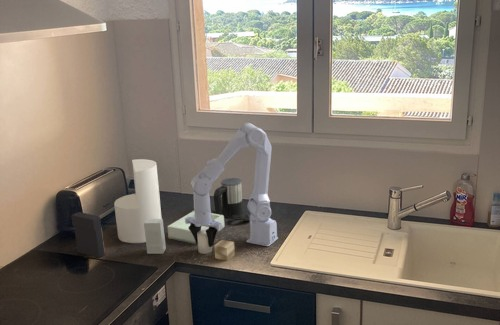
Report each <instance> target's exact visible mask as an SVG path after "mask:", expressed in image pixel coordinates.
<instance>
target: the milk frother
mask: <svg viewBox="0 0 500 325" xmlns="http://www.w3.org/2000/svg"><path fill="white" fill-rule="evenodd" d="M242 183H243V180H242V179H240V178H238V177H228V178H223V179H221V180H220V185H221V186H219V187H216V189H215V190H214V193H213V203H214V204H213V205H214V212H215V214H219V215H224V218H228V219H232V218H233V219H239V220H242V221H244V222H249V221H250V215H249V214H245V215H244V210H243V194H242V193H243V190H242V188H243V187H242Z"/></svg>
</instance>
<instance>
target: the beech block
mask: <svg viewBox="0 0 500 325" xmlns="http://www.w3.org/2000/svg"><path fill="white" fill-rule="evenodd" d="M213 246H214V258H215V259H217V260H222V261H225V262H228V261H229V260H230V259H231V258H233V257H234V256H236V254H235V242H234V241H230V240H226V239H225V240H224V239H221V240H220V241H218V242H217V243H214V245H213Z"/></svg>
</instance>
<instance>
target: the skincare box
mask: <svg viewBox="0 0 500 325" xmlns="http://www.w3.org/2000/svg"><path fill="white" fill-rule="evenodd" d="M144 229H145V238H146V242H145V246H146V254H150V255H151V254H152V255H153V254H154V255H155V254H158V255H159V254H160V255H161V254H162V255H163V254H164V252H165V251H166V249H167V248H166V238H165V230H164V219H163V218H162V219H147V220H146V221H145V222H144Z"/></svg>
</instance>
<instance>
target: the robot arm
mask: <svg viewBox="0 0 500 325" xmlns="http://www.w3.org/2000/svg"><path fill="white" fill-rule="evenodd" d="M249 144H250V145H251V146H252V147H253V148H254V149H255V150H256V153H255V154H256V156H255V165H254V166H255V168H254V179H253V191H252V193H251V194H250V198H249V200H248V202H247V205H246V206H247V207H246V208H247V210H248V212H250V215H249V217H250V220H249V227H250V228H249V230H250V237H249V238H248V239H247V240H246V243H249V244H254V245H258V246H264V247H270V246H271V245H272V244H273V243H275V242H276V241H277V240H278V239H279V237H278V227H277V226H278V223H277V221H276V220H274V219H272V218H271V215H272V209H271V208H272V207H271V200H270V196H269V195H268V193H269V183H270V171H271V170H270V169H271V159H272V150H273V149H272V148H273V147H272V144H271V142H270V140H269V138H268V134H267V133H266V132H265V131H264V130H263V129H262V128H260V127H257V126H256V125H254V124H252V123H251V122H245V123H243V124H242V125H241V126H240V128H239V129H238V130H237V131H236V132H235V133H234V135H233V137H232V138H231V140H229V142H228V143H227V144H226V146H225V147H224V148H223V150H222V151H221V153H220V154H219V155H218V157H216V158H212V159H211V160H208V161H207V162H206V166H205V167H204V168H203V169H202V170H201V171H198V173H197V175H195V176H193V178H192V179H191V182H190V184H189V185H190V187H191V188H192V189H193V191H192V193H193V196H192V197H193V211H194V212H195V217H187V218H185V223H186V224H189V223H190V226H189V230H190V231H191V233H192V234H193V236H194V239H195V242H196V244H195V245H197V244H198V239H197V232H199V231H201V226H206V227H209V228H208V229H207V230H205V231H206V233H207V237H208V244H209V247H212V248H213V246H214V245H215V240H216V236H217V234H218V232H219V231H218V230H220V229H221V228H222V223H219V222H217V221H215V220H212V219H211V213H212V210H211V198H210V197H211V196H210V192H211V190H212V184H214V183H215V181H216V180H217V179H218V178H219V176H220V175H221V174H222V173H223V172H224V171H225V165H226V164H227V162H228V161H229V160H230V159H231V158H232V157H233V156H234V155H235V154H236V153H237V152H238V151H239V150H240V149H244V148H249V147H250V145H249ZM221 230H222V229H221ZM221 230H220V231H221ZM217 231H218V232H217Z"/></svg>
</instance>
